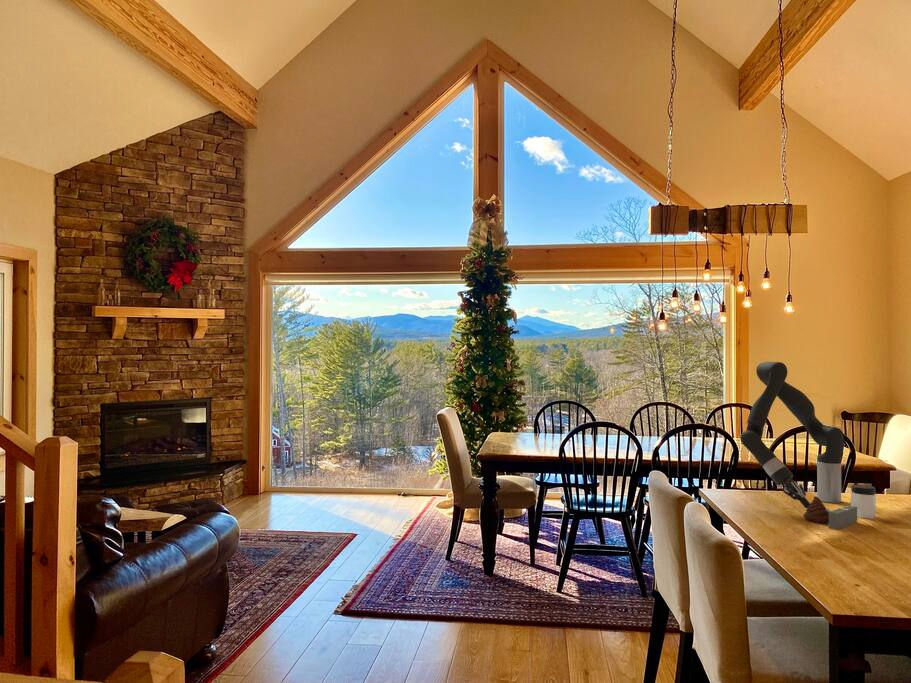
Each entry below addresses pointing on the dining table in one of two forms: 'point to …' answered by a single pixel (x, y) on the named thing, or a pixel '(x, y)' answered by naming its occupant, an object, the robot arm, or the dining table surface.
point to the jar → (864, 500)
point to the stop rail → (842, 517)
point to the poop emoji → (817, 512)
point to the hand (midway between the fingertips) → (808, 506)
